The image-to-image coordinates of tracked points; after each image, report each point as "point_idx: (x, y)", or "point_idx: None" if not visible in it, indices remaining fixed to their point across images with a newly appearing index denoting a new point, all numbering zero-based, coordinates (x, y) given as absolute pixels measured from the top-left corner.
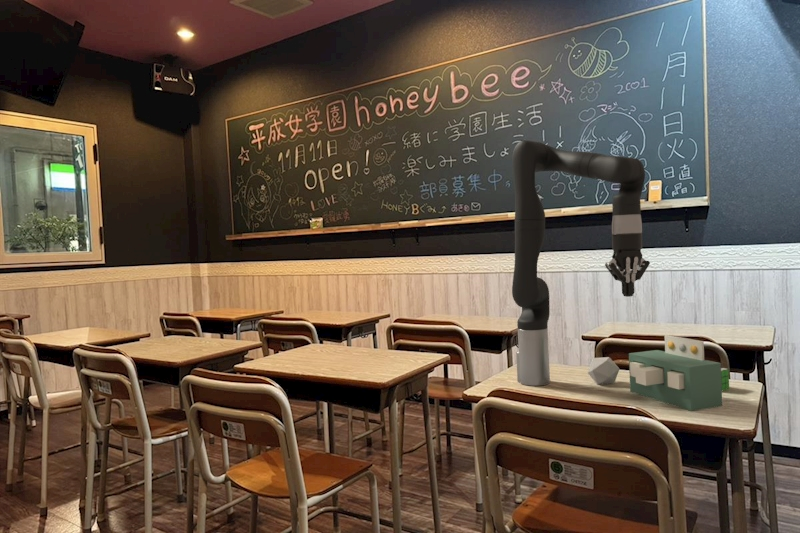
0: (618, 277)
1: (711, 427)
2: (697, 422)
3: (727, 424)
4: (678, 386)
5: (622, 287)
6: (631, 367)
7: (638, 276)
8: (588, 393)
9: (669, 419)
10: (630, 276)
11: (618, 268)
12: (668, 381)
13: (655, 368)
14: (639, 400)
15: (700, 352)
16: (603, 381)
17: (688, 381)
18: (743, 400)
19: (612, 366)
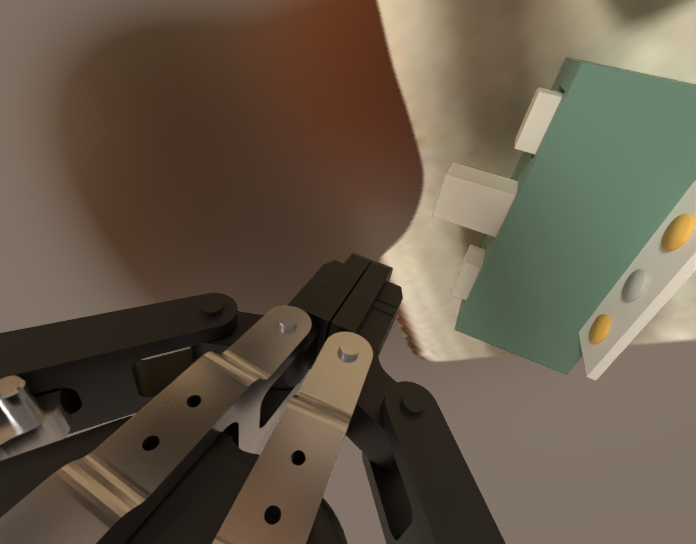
0: (177, 356)
1: (399, 323)
2: (408, 301)
3: (432, 336)
4: (456, 277)
5: (302, 293)
6: (534, 98)
7: (375, 463)
8: None
9: (389, 263)
10: (354, 401)
11: (161, 397)
12: (467, 252)
13: (488, 218)
14: (478, 147)
15: (584, 344)
16: None
17: (461, 304)
18: (651, 324)
19: None
